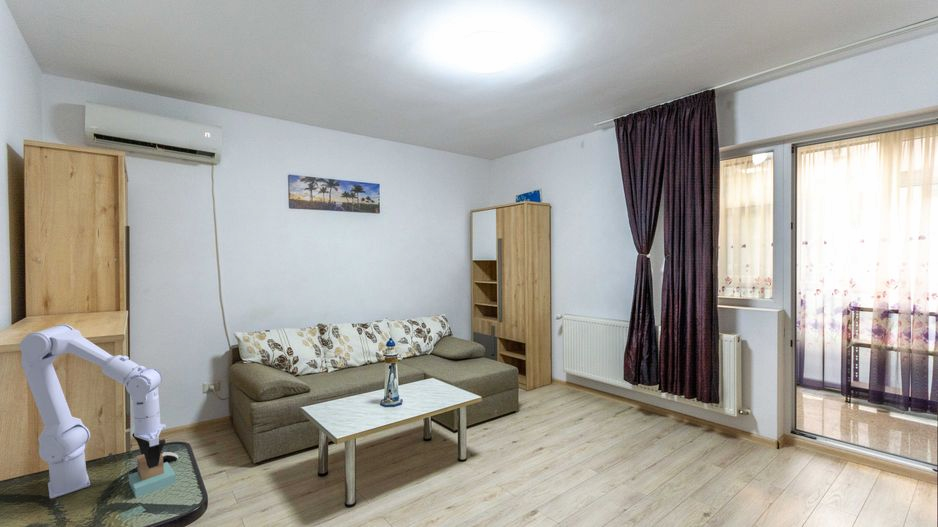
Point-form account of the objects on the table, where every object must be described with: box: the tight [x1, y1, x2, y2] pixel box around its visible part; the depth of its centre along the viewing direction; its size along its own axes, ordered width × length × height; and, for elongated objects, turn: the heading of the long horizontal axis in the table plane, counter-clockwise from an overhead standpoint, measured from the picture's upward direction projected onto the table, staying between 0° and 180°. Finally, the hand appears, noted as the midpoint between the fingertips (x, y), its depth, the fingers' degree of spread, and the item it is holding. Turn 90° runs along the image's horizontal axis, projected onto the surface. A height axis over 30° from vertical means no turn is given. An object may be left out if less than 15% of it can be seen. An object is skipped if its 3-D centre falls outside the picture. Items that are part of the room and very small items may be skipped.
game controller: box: [161, 451, 179, 462], centre depth 128 cm, size 10×5×6 cm
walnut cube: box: [136, 454, 164, 481], centre depth 120 cm, size 5×5×5 cm
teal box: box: [128, 461, 177, 498], centre depth 120 cm, size 9×9×3 cm
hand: (150, 461), depth 120 cm, fingers open, 7 cm apart
